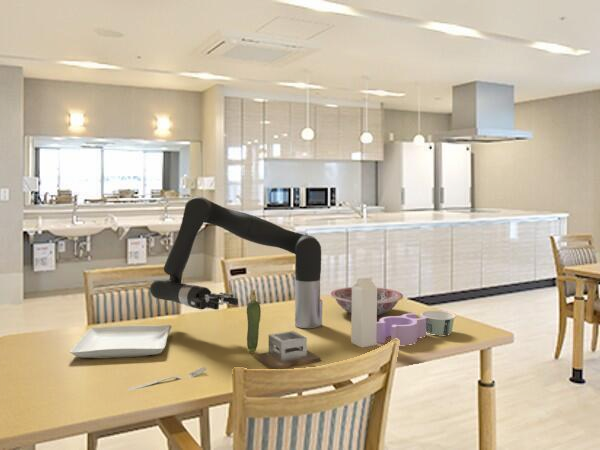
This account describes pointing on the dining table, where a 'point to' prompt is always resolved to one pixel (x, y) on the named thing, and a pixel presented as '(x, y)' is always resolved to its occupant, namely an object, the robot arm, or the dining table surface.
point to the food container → (439, 322)
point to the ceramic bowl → (384, 299)
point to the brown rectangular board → (276, 364)
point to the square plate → (122, 341)
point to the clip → (401, 328)
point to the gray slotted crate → (287, 346)
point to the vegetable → (253, 322)
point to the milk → (364, 313)
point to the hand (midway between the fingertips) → (227, 304)
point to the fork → (169, 378)
